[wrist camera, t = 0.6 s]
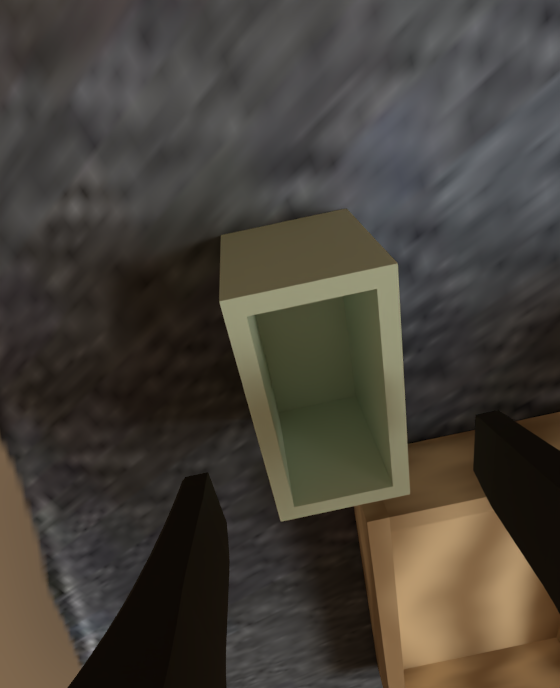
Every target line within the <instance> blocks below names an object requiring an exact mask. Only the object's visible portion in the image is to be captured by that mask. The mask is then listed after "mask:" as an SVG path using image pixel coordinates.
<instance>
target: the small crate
mask: <svg viewBox="0 0 560 688" xmlns="http://www.w3.org/2000/svg"><path fill="white" fill-rule="evenodd" d="M219 303H220V306H221V310H222V313H223V317H224V321H225V324H226V328H227V331H228V335H229V338H230V342H231V346H232V349H233V353H234V356H235V360H236V363H237V367H238V371H239V374H240V378H241V381H242V385H243V388H244V392H245V396H246V399H247V403H248V406H249V410H250V413H251V417H252V421H253V424H254V428H255V431H256V435H257V438H258V442H259V446H260V449H261V453H262V456H263V460H264V463H265V467H266V471H267V474H268V478H269V481H270V485H271V489H272V492H273V496H274V499H275V503H276V506H277V510H278V514H279V517H280V521H281V522H282V521H287V520H291V519H296V518H301V517H305V516H310V515H315V514H320V513H324V512H329V511H334V510H338V509H343V508H348V507H352V506H357V505H362V504H367V503H371V502H376V501H381V500H385V499H390V498H395V497H400V496H404V495H409V494H410V481H409V463H408V444H407V426H406V408H405V389H404V371H403V352H402V334H401V315H400V297H399V279H398V263H397V262H396V261H395V260H394V259H393V258H392V257H391V256H390V255H389V254H388V252H387V251H386V250H385V249H384V248H383V247H382V246H381V245H380V244H379V243H378V242H377V241H376V240H375V238H374V237H373V236H372V235H371V234H370V233H369V232H368V231H367V230H366V229H365V228H364V227H363V226H362V225H361V223H360V222H359V221H358V220H357V219H356V218H355V217H354V216H353V215H352V214H351V213H350V212H349V211H348V210H347V208H346V209H341V210H337V211H332V212H327V213H323V214H318V215H313V216H309V217H304V218H299V219H295V220H290V221H285V222H281V223H276V224H271V225H267V226H262V227H257V228H253V229H248V230H243V231H239V232H234V233H229V234H224V235H221V246H220V288H219Z"/></svg>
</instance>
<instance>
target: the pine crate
mask: <svg viewBox="0 0 560 688" xmlns="http://www.w3.org/2000/svg"><path fill="white" fill-rule="evenodd" d="M516 422H517V423H519V424H520V425H522V426H523V427H525V428H526V429H528V430H529V431H531V432H532V433H534V434H535V435H537V436H538V437H540V438H541V439H543V440H544V441H546V442H547V443H549V444H550V445H552V446H554V447H555V448H557V449H558V450H560V412H557V413H552V414H547V415H543V416H538V417H533V418H528V419H524V420H519V421H516ZM474 440H475V430H472V431H467V432H462V433H457V434H453V435H448V436H443V437H439V438H434V439H429V440H424V441H420V442H415V443H410V444H408V463H409V481H410V494H409V495H404V496H400V497H395V498H390V499H385V500H381V501H376V502H371V503H367V504H362V505H357V506H354V512H355V519H356V526H357V532H358V539H359V545H360V552H361V559H362V565H363V572H364V579H365V585H366V592H367V599H368V605H369V612H370V619H371V625H372V632H373V638H374V645H375V652H376V658H377V665H378V669H379V673H380V677H381V681H382V685H383V688H560V614H559V612H558V610H557V608H556V606H555V605H554V603H553V601H552V599H551V598H550V596H549V595H548V593H547V591H546V590H545V588H544V586H543V585H542V583H541V582H540V580H539V579H538V577H537V576H536V574H535V572H534V571H533V569H532V568H531V566H530V565H529V563H528V562H527V560H526V559H525V557H524V556H523V554H522V553H521V551H520V550H519V548H518V547H517V545H516V544H515V542H514V541H513V539H512V538H511V536H510V535H509V533H508V532H507V530H506V528H505V527H504V525H503V524H502V522H501V521H500V519H499V518H498V516H497V515H496V513H495V511H494V510H493V508H492V507H491V505H490V503H489V501H488V499H487V497H486V495H485V493H484V492H483V490H482V487H481V485H480V483H479V481H478V479H477V477H476V475H475V473H474V471H473V461H474Z"/></svg>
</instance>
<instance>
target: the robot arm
mask: <svg viewBox="0 0 560 688" xmlns="http://www.w3.org/2000/svg"><path fill="white" fill-rule="evenodd" d="M473 471H474V473H475V475H476V477H477V479H478V481H479V483H480V485H481V487H482V490H483V492H484V493H485V495H486V497H487V499H488V501H489V503H490V505H491V507H492V508H493V510H494V511H495V513H496V515H497V516H498V518H499V519H500V521H501V522H502V524H503V525H504V527H505V528H506V530H507V532H508V533H509V535H510V536H511V538H512V539H513V541H514V542H515V544H516V545H517V547H518V548H519V550H520V551H521V553H522V554H523V556H524V557H525V559H526V560H527V562H528V563H529V565H530V566H531V568H532V569H533V571H534V572H535V574H536V576H537V577H538V579H539V580H540V582H541V583H542V585H543V586H544V588H545V590H546V591H547V593H548V595H549V596H550V598H551V599H552V601H553V603H554V605H555V606H556V608H557V610H558V612H559V614H560V450H558V449H557V448H555V447H554V446H552V445H550V444H549V443H547V442H546V441H544V440H543V439H541V438H540V437H538V436H537V435H535V434H534V433H532V432H531V431H529V430H528V429H526V428H525V427H523V426H522V425H520V424H519V423H517V422H516V421H514V420H513V419H511V418H510V417H508V416H507V415H505V414H503V413H502V412H500V411H499V410H497V411H493V412H488V413H483V414H479V415H476V419H475V440H474V461H473ZM228 587H229V547H228V533H227V522H226V519H225V517H224V514H223V511H222V509H221V506H220V503H219V501H218V498H217V495H216V493H215V490H214V487H213V485H212V482H211V479H210V477H209V474H208V472H207V473H203V474H198V475H193V476H189V477H185V478H184V480H183V481H182V484H181V486H180V489H179V491H178V494H177V496H176V499H175V501H174V504H173V506H172V509H171V511H170V513H169V516H168V518H167V520H166V522H165V525H164V527H163V529H162V531H161V533H160V535H159V538H158V540H157V542H156V544H155V546H154V548H153V550H152V552H151V554H150V556H149V558H148V560H147V562H146V564H145V566H144V568H143V570H142V572H141V573H140V575H139V577H138V579H137V581H136V583H135V585H134V587H133V589H132V590H131V592H130V594H129V596H128V597H127V599H126V601H125V602H124V604H123V606H122V608H121V609H120V611H119V613H118V614H117V616H116V617H115V619H114V621H113V622H112V624H111V625H110V627H109V629H108V630H107V632H106V633H105V635H104V636H103V638H102V639H101V641H100V642H99V644H98V645H97V647H96V648H95V650H94V651H93V653H92V654H91V656H90V657H89V659H88V660H87V661H86V663H85V664H84V666H83V667H82V669H81V670H80V671H79V673H78V674H77V676H76V677H75V678H74V680H73V681H72V682H71V684H70V685H69V686H68V688H226V636H227V612H228Z"/></svg>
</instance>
